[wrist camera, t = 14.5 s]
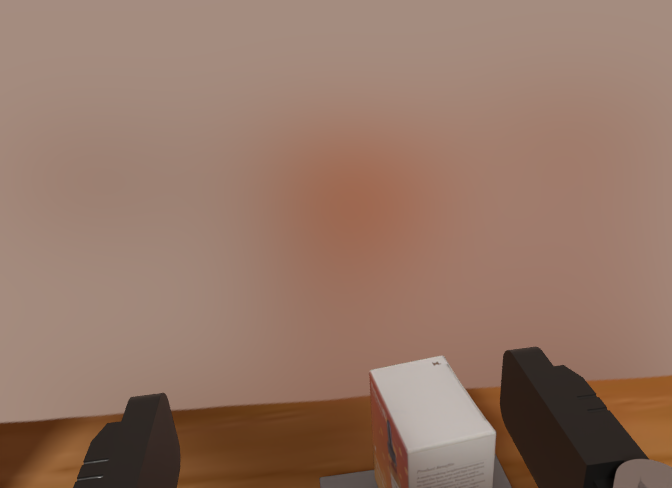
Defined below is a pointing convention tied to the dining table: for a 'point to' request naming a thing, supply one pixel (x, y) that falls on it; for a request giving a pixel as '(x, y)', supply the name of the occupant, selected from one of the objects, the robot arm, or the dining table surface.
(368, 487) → the slate tile
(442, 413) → the small box
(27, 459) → the dining table surface
